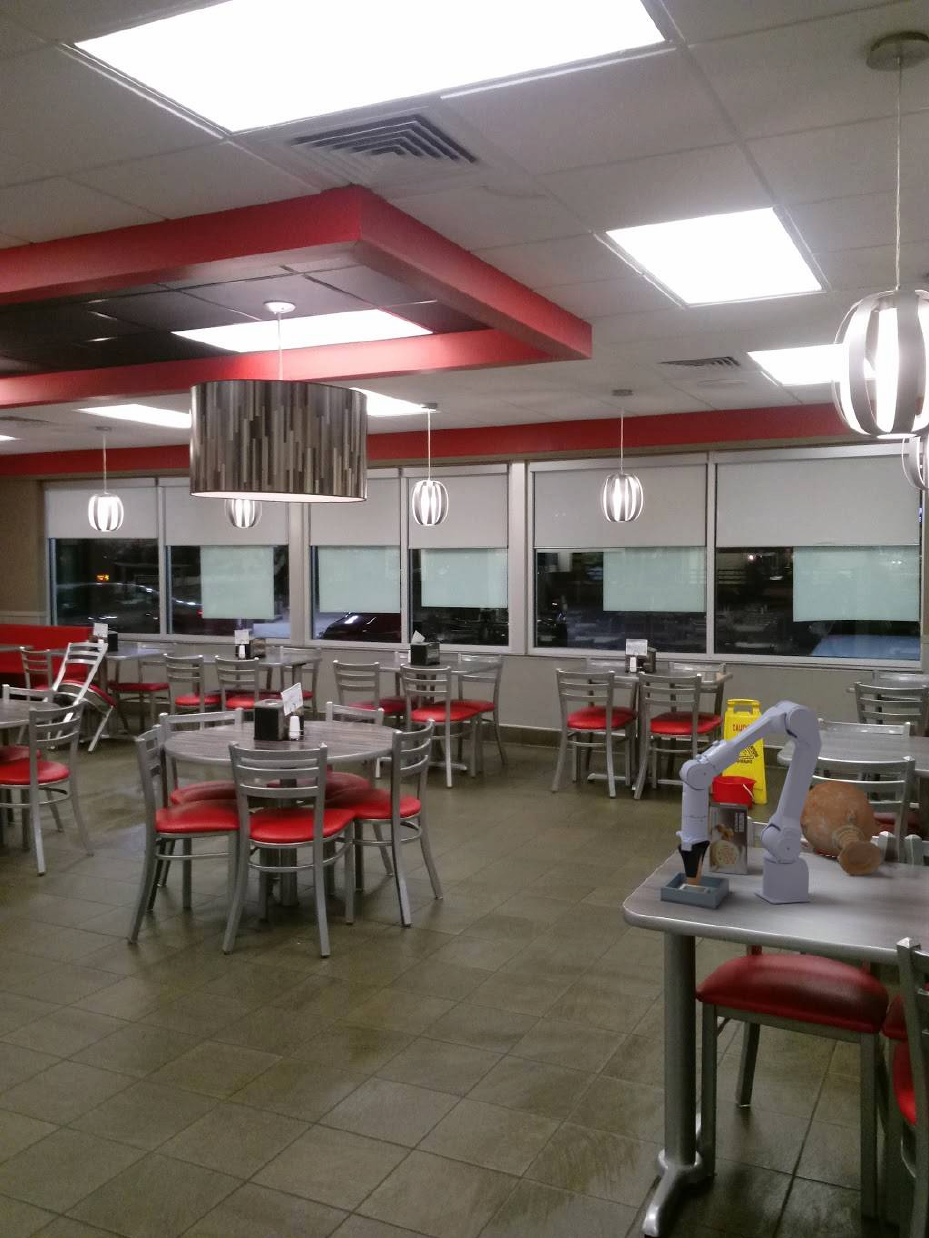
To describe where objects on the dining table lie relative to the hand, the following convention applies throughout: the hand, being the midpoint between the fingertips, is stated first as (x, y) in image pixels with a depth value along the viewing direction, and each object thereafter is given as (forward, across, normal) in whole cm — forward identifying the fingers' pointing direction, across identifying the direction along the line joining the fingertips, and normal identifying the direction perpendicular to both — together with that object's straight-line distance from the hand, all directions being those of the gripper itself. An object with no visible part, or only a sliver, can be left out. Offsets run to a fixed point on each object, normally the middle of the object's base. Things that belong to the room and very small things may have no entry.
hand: (693, 874), depth 230 cm
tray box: (+5, -2, 0) cm, 6 cm away
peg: (+2, 0, 0) cm, 2 cm away
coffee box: (+6, -26, +2) cm, 27 cm away
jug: (+6, -48, +26) cm, 55 cm away
